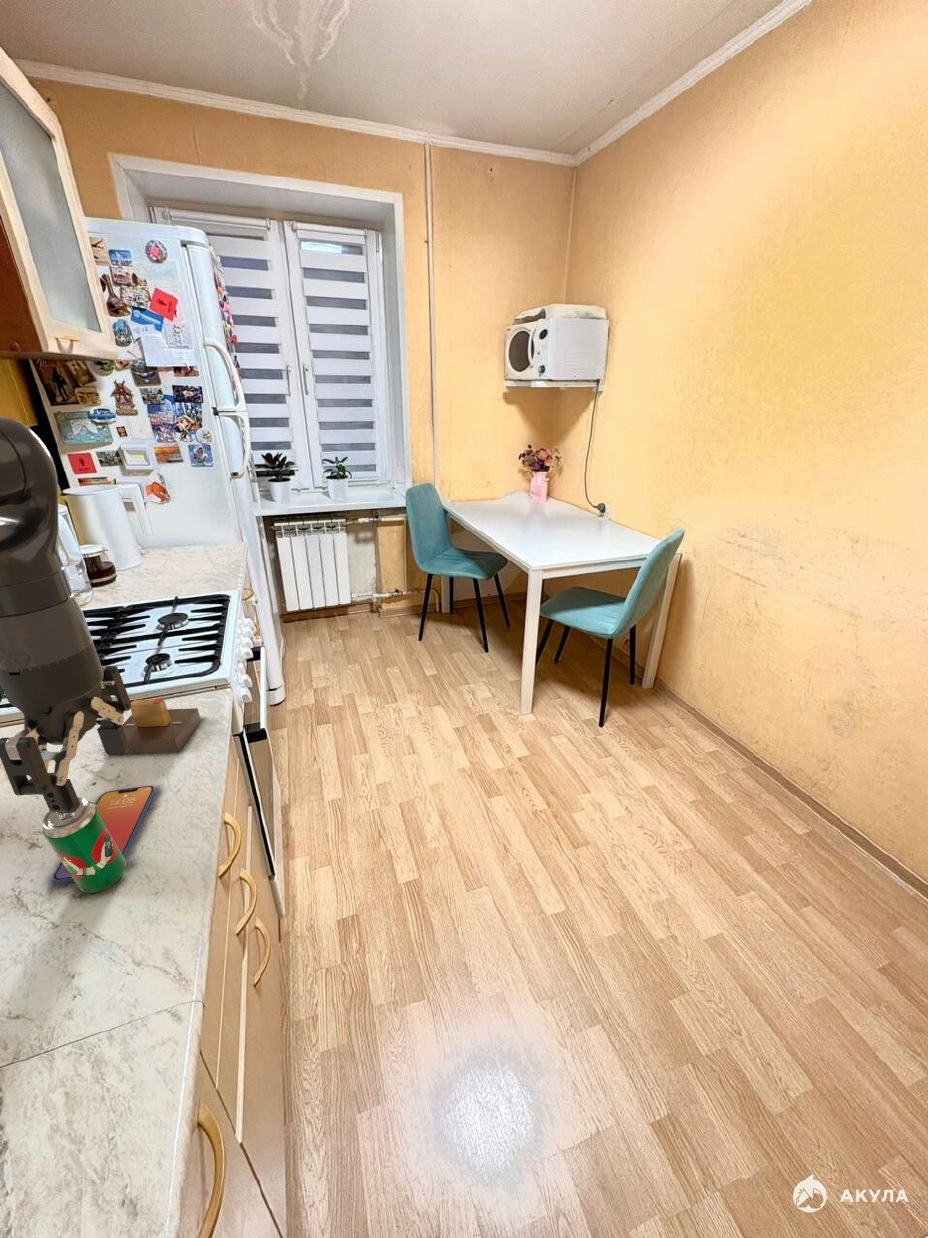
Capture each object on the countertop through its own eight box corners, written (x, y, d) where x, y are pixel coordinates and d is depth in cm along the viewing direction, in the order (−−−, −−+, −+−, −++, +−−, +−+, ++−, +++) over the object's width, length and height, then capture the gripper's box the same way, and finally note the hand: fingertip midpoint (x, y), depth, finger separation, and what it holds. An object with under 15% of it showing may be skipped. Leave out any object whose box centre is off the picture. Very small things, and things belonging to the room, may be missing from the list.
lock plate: (111, 757, 83) (105, 741, 81) (139, 724, 91) (134, 709, 90) (179, 753, 83) (174, 738, 82) (201, 721, 91) (197, 707, 90)
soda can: (123, 849, 65) (89, 787, 59) (131, 878, 62) (96, 816, 55) (77, 872, 62) (36, 809, 56) (82, 904, 59) (40, 841, 53)
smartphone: (51, 888, 61) (48, 882, 60) (103, 797, 74) (101, 792, 74) (118, 876, 62) (116, 870, 62) (158, 789, 75) (156, 784, 75)
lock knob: (136, 727, 85) (128, 704, 83) (141, 722, 86) (133, 698, 84) (166, 726, 85) (159, 703, 83) (171, 720, 87) (164, 697, 85)
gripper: (54, 615, 53) (100, 739, 60) (-70, 688, 40) (6, 835, 47) (127, 614, 53) (164, 737, 60) (26, 686, 40) (88, 832, 47)
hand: (94, 780), depth 53 cm, fingers open, 8 cm apart
